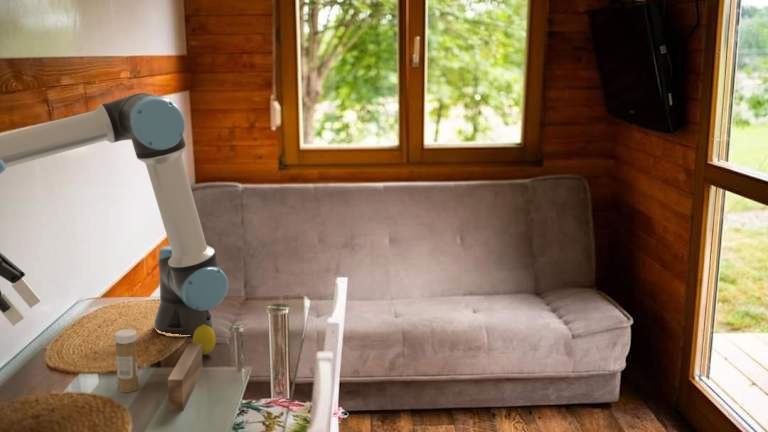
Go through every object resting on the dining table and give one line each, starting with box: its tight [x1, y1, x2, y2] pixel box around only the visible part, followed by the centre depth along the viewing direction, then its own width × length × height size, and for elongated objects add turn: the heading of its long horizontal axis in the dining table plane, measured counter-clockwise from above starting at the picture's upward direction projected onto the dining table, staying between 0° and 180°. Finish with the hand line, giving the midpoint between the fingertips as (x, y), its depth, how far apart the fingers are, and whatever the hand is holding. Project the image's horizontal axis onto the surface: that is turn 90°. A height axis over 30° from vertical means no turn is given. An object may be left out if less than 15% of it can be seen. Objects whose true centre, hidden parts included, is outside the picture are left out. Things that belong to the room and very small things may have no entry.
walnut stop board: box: [167, 342, 203, 411], centre depth 174 cm, size 3×20×7 cm, turn 1°
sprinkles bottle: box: [114, 328, 140, 393], centre depth 173 cm, size 5×5×13 cm
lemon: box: [192, 324, 217, 356], centre depth 193 cm, size 6×6×8 cm
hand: (28, 312), depth 169 cm, fingers open, 13 cm apart
